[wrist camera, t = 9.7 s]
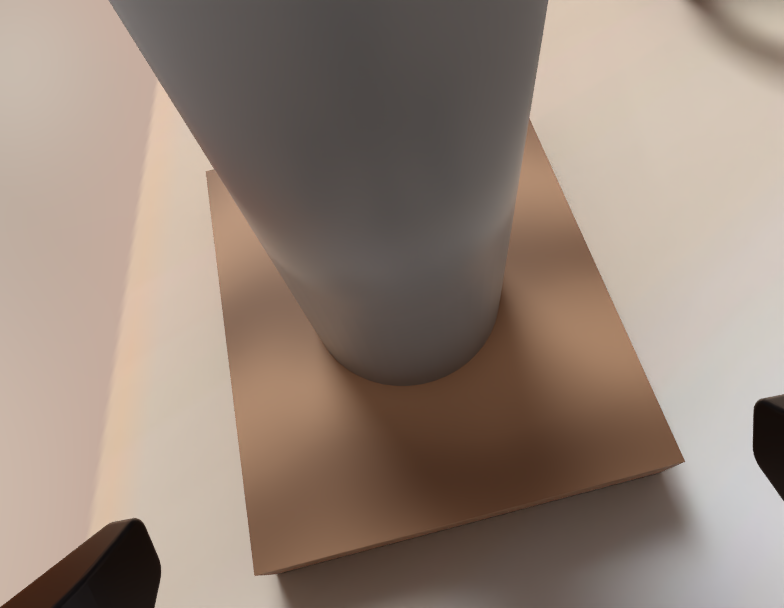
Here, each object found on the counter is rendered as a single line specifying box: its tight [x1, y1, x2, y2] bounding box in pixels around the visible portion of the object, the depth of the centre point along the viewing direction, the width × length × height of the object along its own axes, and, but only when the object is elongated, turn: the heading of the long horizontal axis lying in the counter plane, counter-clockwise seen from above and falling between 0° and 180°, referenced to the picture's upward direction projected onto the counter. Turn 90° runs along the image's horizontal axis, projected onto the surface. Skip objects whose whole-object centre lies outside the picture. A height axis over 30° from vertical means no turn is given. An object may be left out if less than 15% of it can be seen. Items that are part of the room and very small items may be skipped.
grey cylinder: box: [109, 0, 548, 386], centre depth 12 cm, size 6×6×13 cm
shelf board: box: [206, 119, 685, 576], centre depth 19 cm, size 14×12×2 cm
